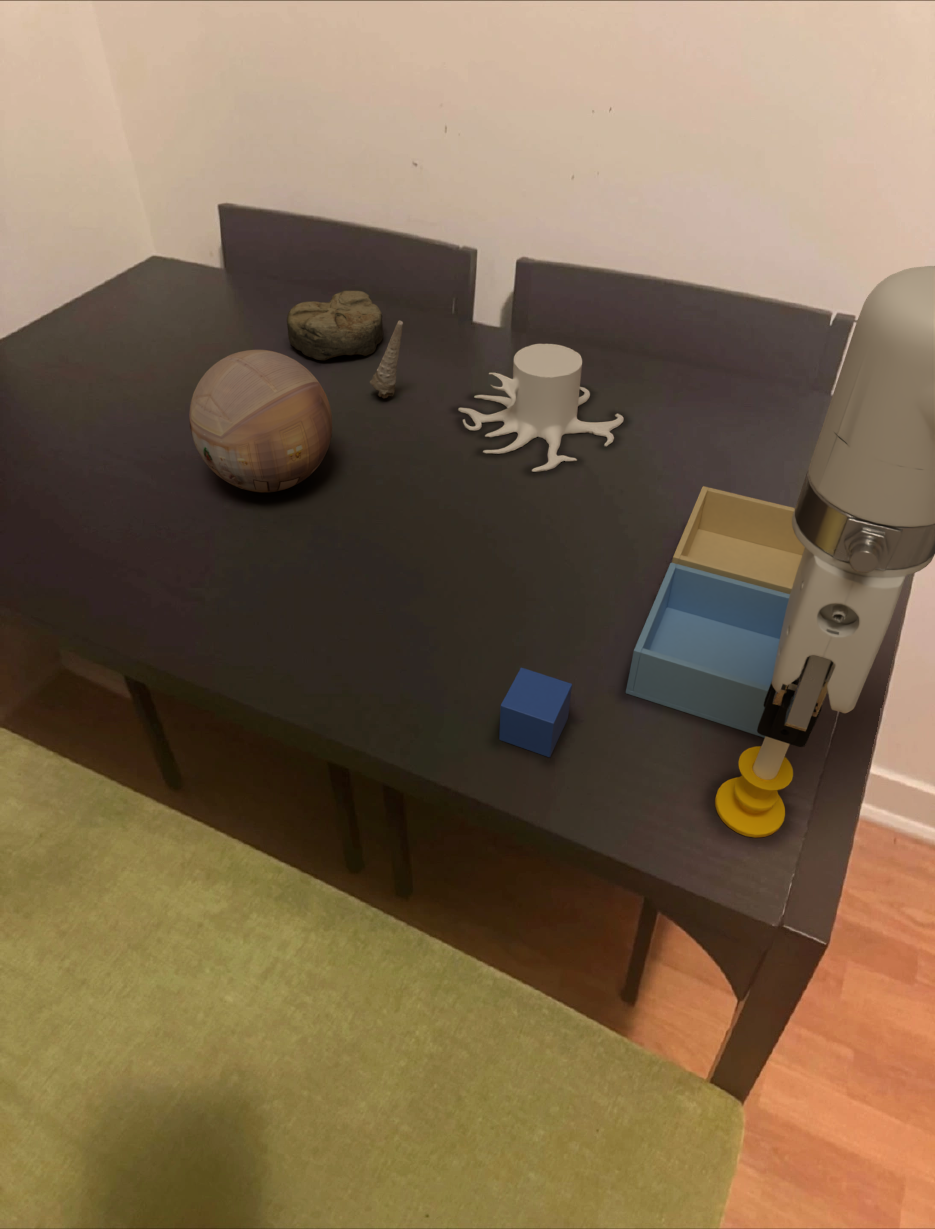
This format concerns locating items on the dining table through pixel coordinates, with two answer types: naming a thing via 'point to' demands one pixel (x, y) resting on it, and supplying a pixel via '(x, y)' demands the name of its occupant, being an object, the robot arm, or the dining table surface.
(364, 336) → the stone
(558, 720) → the blue block
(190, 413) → the ornament
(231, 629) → the dining table surface
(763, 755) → the candle
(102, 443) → the dining table surface
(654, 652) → the blue bin
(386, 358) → the seashell
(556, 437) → the tree stump
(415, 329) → the dining table surface
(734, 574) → the cream bin
